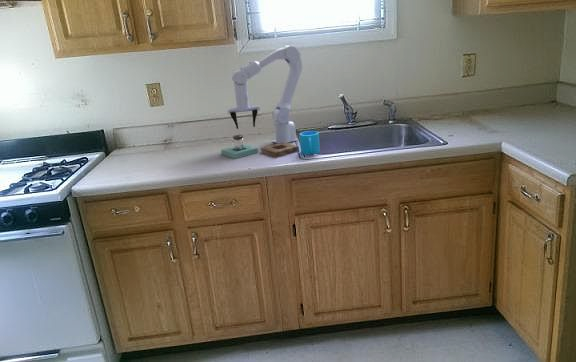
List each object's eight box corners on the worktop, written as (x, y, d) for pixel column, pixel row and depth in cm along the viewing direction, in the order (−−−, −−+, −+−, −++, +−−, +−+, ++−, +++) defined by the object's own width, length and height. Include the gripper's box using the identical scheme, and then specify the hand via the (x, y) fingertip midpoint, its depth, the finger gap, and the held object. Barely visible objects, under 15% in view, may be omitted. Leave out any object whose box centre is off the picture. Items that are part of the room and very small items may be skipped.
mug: (301, 150, 198) (299, 131, 195) (319, 148, 197) (318, 130, 195) (301, 157, 186) (299, 138, 184) (320, 156, 186) (319, 137, 183)
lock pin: (241, 151, 205) (239, 134, 202) (247, 152, 201) (245, 135, 198) (233, 153, 202) (230, 136, 199) (238, 155, 199) (236, 137, 196)
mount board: (283, 146, 206) (282, 142, 206) (298, 150, 197) (298, 146, 196) (261, 152, 200) (260, 147, 199) (276, 157, 190) (275, 152, 190)
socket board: (244, 148, 210) (244, 143, 209) (258, 152, 200) (257, 148, 199) (221, 153, 203) (221, 149, 203) (234, 158, 194) (233, 154, 193)
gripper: (225, 100, 199) (229, 130, 203) (258, 97, 200) (261, 127, 204) (226, 98, 205) (230, 127, 210) (257, 95, 206) (261, 124, 211)
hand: (245, 127), depth 208 cm, fingers open, 7 cm apart
